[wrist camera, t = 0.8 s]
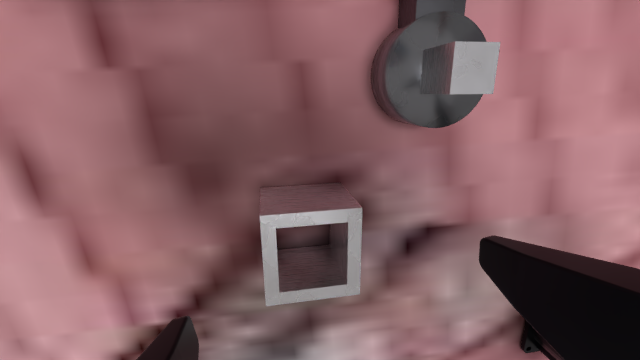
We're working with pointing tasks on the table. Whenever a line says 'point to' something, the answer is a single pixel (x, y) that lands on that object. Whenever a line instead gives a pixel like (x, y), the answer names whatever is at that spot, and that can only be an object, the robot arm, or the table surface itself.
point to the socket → (315, 261)
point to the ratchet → (433, 64)
